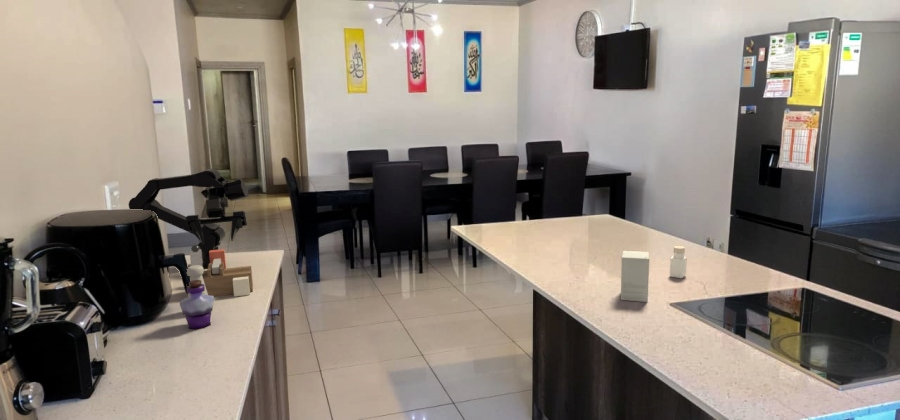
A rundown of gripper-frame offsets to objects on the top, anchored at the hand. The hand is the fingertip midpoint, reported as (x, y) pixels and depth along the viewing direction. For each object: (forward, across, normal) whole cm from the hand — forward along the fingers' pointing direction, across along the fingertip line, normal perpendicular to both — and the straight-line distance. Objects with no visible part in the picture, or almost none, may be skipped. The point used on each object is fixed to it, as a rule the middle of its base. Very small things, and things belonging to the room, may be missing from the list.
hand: (217, 241), depth 191 cm
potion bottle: (+40, -2, -24) cm, 47 cm away
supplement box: (+56, +114, -37) cm, 133 cm away
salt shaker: (+32, -3, -16) cm, 36 cm away
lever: (+18, -4, -12) cm, 22 cm away
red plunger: (+15, 0, -5) cm, 15 cm away
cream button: (+25, +8, -8) cm, 27 cm away
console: (+21, +1, -5) cm, 21 cm away
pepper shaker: (+48, +138, -29) cm, 149 cm away
